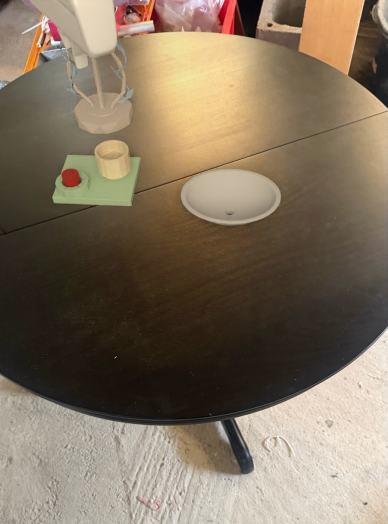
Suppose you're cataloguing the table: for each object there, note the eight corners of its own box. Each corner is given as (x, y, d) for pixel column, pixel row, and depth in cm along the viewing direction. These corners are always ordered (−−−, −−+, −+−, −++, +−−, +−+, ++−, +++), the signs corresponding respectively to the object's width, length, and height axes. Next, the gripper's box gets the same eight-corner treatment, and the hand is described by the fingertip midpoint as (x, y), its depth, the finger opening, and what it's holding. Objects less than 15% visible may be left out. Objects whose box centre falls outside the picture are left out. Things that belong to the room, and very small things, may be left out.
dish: (179, 243, 84) (177, 221, 80) (184, 189, 92) (183, 167, 88) (279, 245, 83) (283, 224, 79) (275, 191, 91) (279, 169, 87)
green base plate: (53, 203, 90) (49, 190, 88) (69, 160, 97) (65, 147, 95) (131, 206, 89) (129, 193, 87) (141, 163, 96) (139, 150, 94)
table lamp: (162, 94, 110) (143, -151, 76) (140, 151, 98) (106, -107, 65) (73, 87, 112) (17, -153, 79) (41, 142, 101) (-40, -112, 67)
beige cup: (96, 180, 92) (91, 160, 88) (102, 159, 95) (98, 139, 91) (128, 181, 91) (125, 161, 87) (133, 160, 95) (130, 140, 91)
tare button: (62, 187, 89) (59, 178, 87) (65, 176, 91) (63, 167, 89) (78, 188, 89) (76, 179, 87) (82, 177, 90) (80, 168, 89)
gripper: (-8, -83, 58) (28, 40, 69) (63, -27, 48) (90, 104, 60) (40, -94, 60) (67, 28, 71) (117, -42, 50) (134, 88, 62)
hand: (78, 63), depth 66 cm, fingers closed
